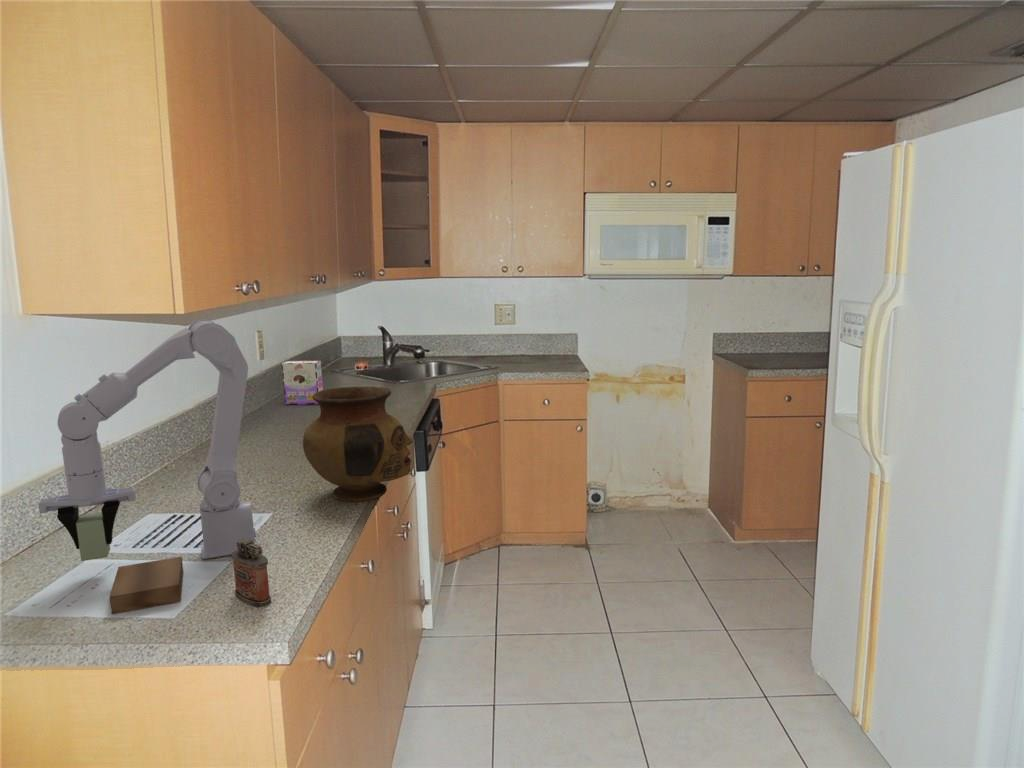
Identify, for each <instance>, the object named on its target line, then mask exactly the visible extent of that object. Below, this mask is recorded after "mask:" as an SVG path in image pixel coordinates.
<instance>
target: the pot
mask: <svg viewBox="0 0 1024 768" xmlns="http://www.w3.org/2000/svg"><path fill="white" fill-rule="evenodd" d="M391 394H392V391H391V389H389V388H387V387H380V386H345V387H334V388H325V389H323V390H321V391H319V392H316V393H315V394H314V395H313V399H314V400H315V401H316V402H318V403H319V404H318V405H319V408H320V415H319V417H317V418H316V419H314V420H313V421H311V423H309V425H308V426H307V427H306V428H305V430H304V433H303V437H302V447H303V453H304V455H305V458H306V460H307V461H308V462H309V465H310V466H311V467H312V468H313V470H314V471H315V472H316V474H318V475H319V476H321V478H322V479H324V480H325V481H327V482H328V483H330V484H332V485H335V486H338V487H335V488H334V489H333V491H332V495H333V497H334V498H335V499H336V500H338V501H342V502H347V503H359V502H360V503H361V502H369V501H372V500H376V499H378V498H381V497H382V496H384V495H385V494H386V492H387V490H388V488H387V486H386V485H385V484H383V482H384V483H385V482H390V481H394V480H397V479H400V478H403V477H405V476H407V475H409V474H410V473H411V469H412V468H411V464H412V458H410V457H409V456H410V455H411V450H410V449H409V448H408V446H410V445H411V444H413V442H414V440H413V438H411V436H409V435H408V434H407V432H406V431H405V430H404V425H403V424H402V423H401V421H400V420H398V419H397V418H396V417H394V416H392V415H391V414H389V413H388V412H387V410H386V401H387V399H388V397H390V396H391Z"/></svg>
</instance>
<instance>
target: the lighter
mask: <svg viewBox="0 0 1024 768" xmlns="http://www.w3.org/2000/svg"><path fill="white" fill-rule="evenodd" d="M236 542H237V547H238V550H236V551H233V552H232V553H231V555H230V556H231V559H232V563H233V565H232V566H233V572H234V573H233V576H234V585H235V589H234V596H235V598H236V599H237V600H239V601H241V602H242V603H243V604H246V605H248V606H251V607H254V608H258V609H259V608H266V607H268V606H270V605H271V604H272V596H271V595H270V588H269V577H268V575H269V574H268V564H269V559H268V558H267V557H266V556H265V555H263V547H262V546H261V545H259V544H257V543H256V542H255V543H253V541H252V540H251V539H250V540H247V541H246V540H243V539H240V540H237V541H236Z"/></svg>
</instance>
